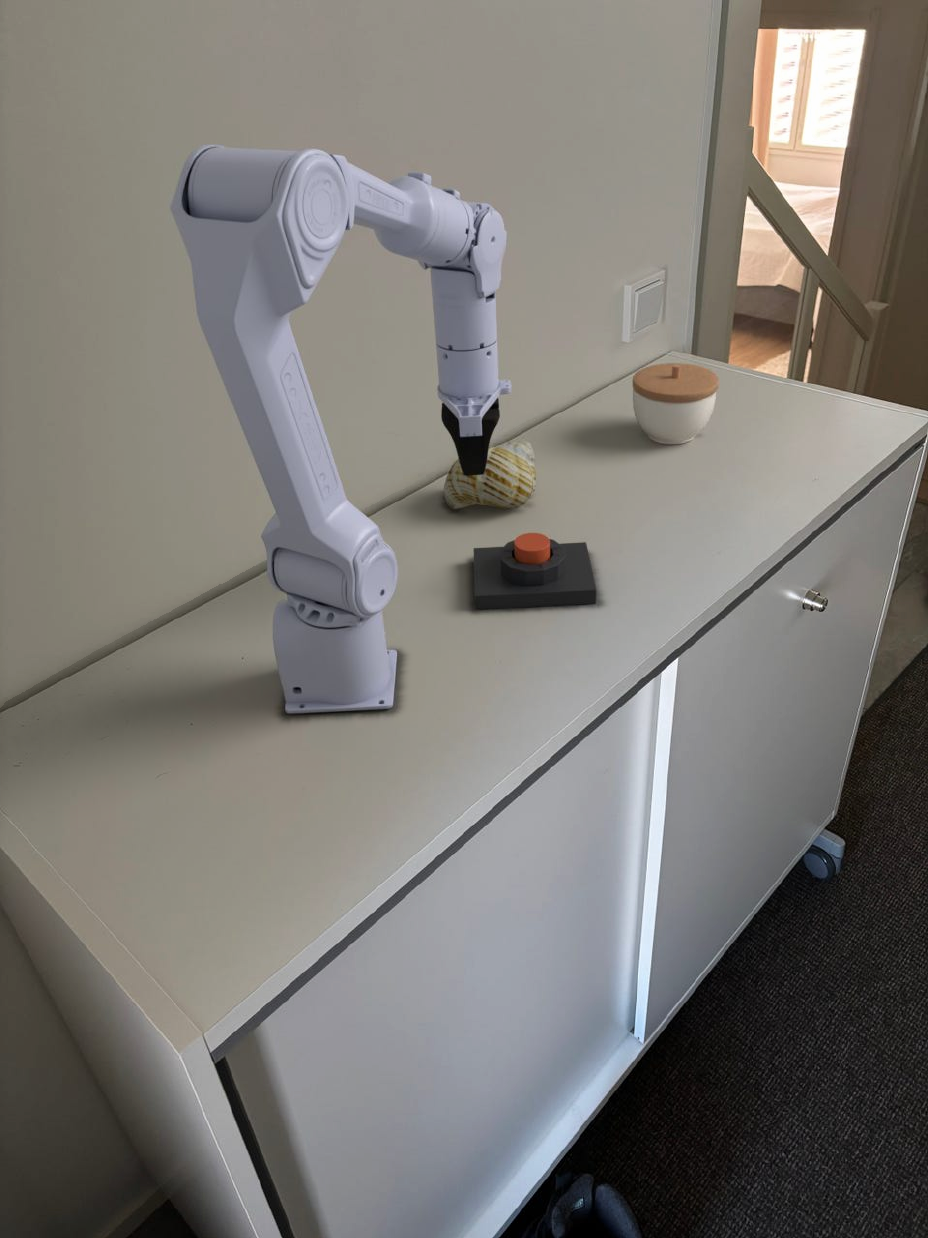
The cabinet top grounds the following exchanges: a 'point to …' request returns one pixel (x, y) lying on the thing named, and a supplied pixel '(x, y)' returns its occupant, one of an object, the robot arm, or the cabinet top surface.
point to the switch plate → (533, 578)
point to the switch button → (532, 548)
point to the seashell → (495, 479)
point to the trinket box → (674, 401)
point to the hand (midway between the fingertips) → (473, 472)
